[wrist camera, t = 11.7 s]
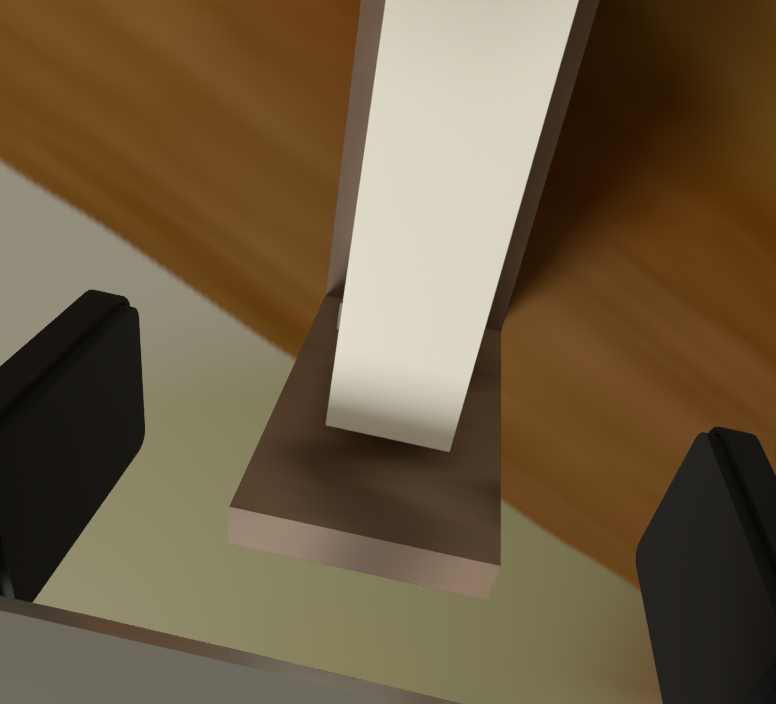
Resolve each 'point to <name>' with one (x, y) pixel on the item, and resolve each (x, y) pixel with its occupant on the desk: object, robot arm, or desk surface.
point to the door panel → (438, 205)
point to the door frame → (381, 455)
